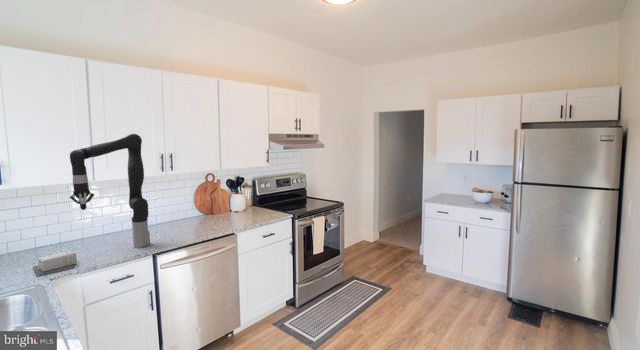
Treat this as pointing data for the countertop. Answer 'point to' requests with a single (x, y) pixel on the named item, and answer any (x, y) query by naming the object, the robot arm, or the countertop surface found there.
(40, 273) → the mat
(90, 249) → the countertop surface
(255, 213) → the countertop surface
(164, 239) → the countertop surface
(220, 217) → the countertop surface
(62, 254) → the skincare box
